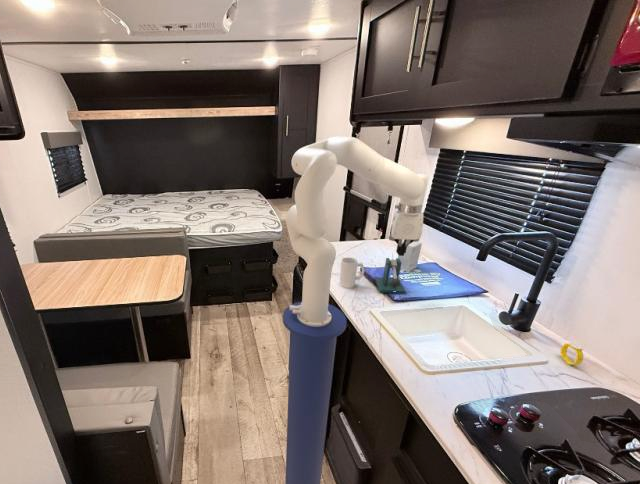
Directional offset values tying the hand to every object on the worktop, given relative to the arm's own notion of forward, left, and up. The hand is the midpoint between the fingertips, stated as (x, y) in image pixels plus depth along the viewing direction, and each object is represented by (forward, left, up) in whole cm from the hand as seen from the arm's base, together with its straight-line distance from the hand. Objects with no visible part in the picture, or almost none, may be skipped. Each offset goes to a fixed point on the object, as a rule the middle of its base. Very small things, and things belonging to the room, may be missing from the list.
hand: (400, 254), depth 122 cm
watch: (+40, -34, -19) cm, 56 cm away
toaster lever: (0, +5, -11) cm, 12 cm away
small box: (+13, +28, -19) cm, 37 cm away
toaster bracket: (0, +8, -19) cm, 20 cm away
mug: (-16, +8, -19) cm, 26 cm away
